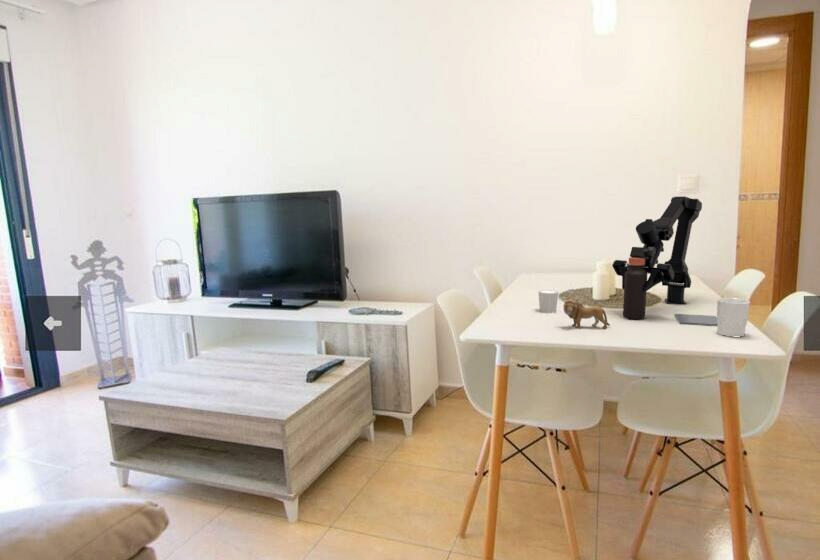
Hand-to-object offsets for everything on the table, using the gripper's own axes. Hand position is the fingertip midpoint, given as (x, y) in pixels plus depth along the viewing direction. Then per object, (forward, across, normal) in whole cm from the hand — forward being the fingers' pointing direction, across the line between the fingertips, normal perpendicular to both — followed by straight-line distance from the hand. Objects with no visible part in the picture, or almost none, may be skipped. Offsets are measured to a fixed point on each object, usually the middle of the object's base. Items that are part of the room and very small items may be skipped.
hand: (633, 289), depth 166 cm
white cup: (+6, +29, +8) cm, 30 cm away
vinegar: (+6, 0, +8) cm, 10 cm away
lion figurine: (+22, -5, -8) cm, 24 cm away
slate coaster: (-1, +16, +15) cm, 22 cm away
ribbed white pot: (+13, -26, 0) cm, 29 cm away
